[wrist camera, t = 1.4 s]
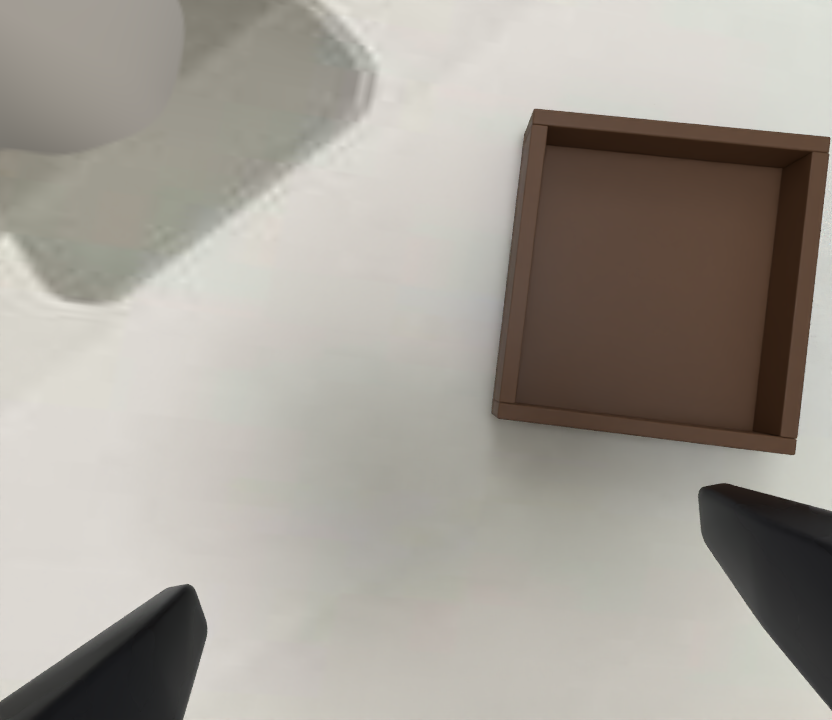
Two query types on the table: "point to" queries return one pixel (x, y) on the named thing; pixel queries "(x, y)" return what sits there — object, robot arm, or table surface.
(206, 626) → the robot arm
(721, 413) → the tray
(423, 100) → the table surface
